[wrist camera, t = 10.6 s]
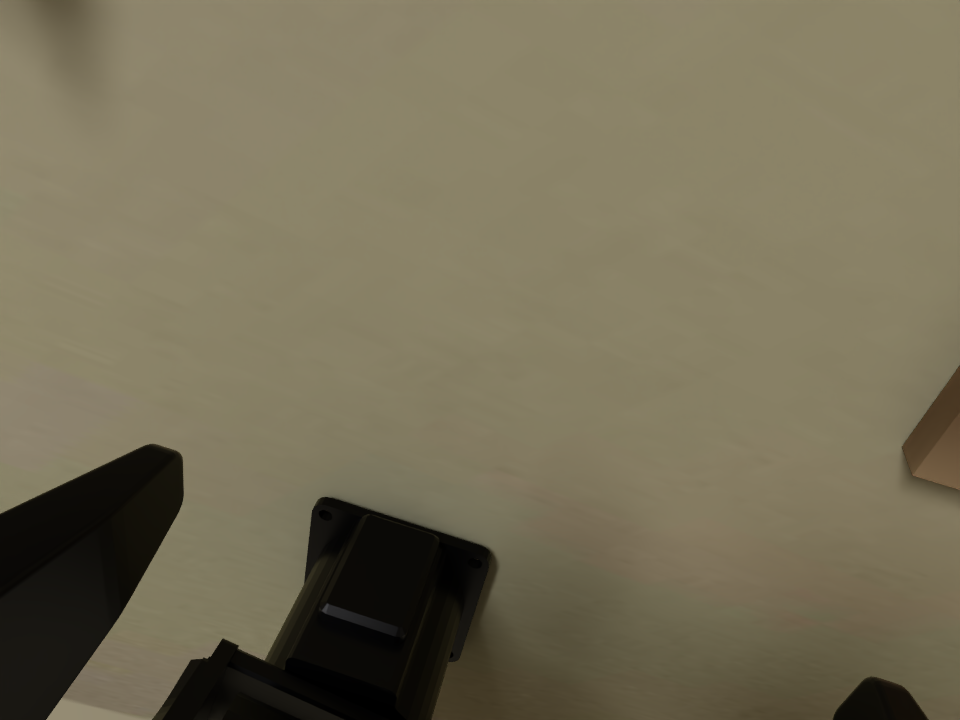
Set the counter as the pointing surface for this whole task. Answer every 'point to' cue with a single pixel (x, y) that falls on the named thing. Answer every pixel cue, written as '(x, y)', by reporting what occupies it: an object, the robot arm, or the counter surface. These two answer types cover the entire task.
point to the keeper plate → (938, 439)
